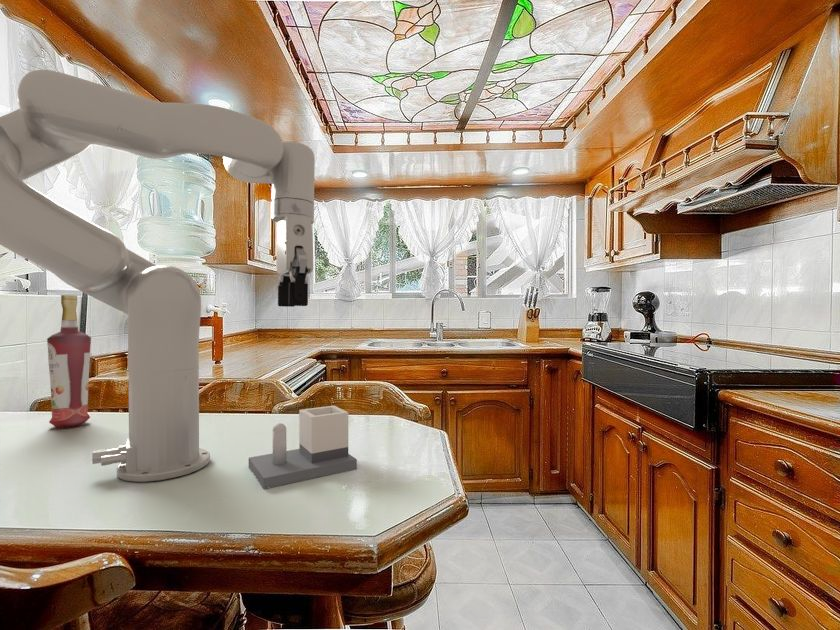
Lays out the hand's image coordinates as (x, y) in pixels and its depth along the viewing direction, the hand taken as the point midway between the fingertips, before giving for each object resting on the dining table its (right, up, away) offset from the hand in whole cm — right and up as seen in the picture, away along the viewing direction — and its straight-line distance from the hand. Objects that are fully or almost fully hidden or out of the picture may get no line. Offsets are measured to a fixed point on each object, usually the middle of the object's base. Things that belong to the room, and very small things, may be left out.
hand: (292, 306), depth 80 cm
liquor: (-52, -26, +13) cm, 59 cm away
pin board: (+5, -26, -12) cm, 29 cm away
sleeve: (+8, -24, -10) cm, 27 cm away
